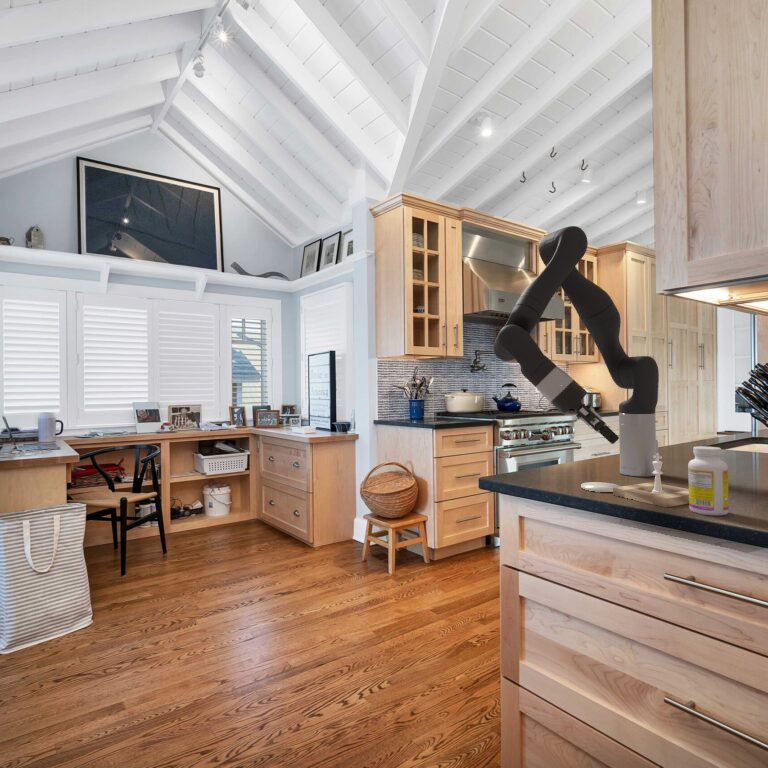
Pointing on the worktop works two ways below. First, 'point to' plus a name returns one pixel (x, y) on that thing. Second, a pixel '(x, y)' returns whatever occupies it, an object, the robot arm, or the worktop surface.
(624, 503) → the worktop surface
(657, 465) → the chess piece
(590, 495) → the worktop surface
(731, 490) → the worktop surface
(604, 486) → the coaster
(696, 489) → the supplement bottle
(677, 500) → the pocket block
